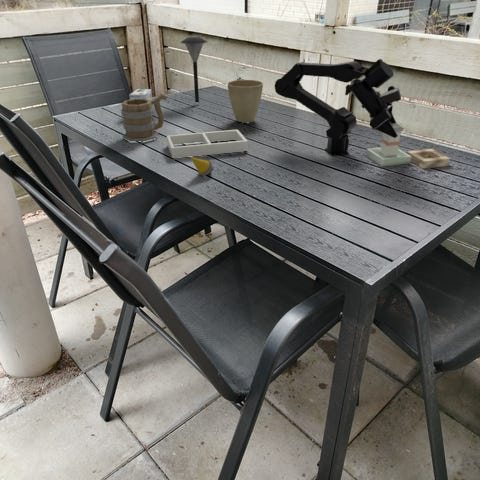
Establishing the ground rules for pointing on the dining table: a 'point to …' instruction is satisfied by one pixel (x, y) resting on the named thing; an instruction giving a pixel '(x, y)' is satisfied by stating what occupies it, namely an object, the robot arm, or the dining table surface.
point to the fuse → (390, 143)
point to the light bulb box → (141, 94)
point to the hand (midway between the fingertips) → (396, 132)
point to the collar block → (433, 158)
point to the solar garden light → (194, 57)
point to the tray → (399, 160)
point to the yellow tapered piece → (202, 166)
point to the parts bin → (207, 143)
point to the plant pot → (245, 98)
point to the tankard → (142, 118)
